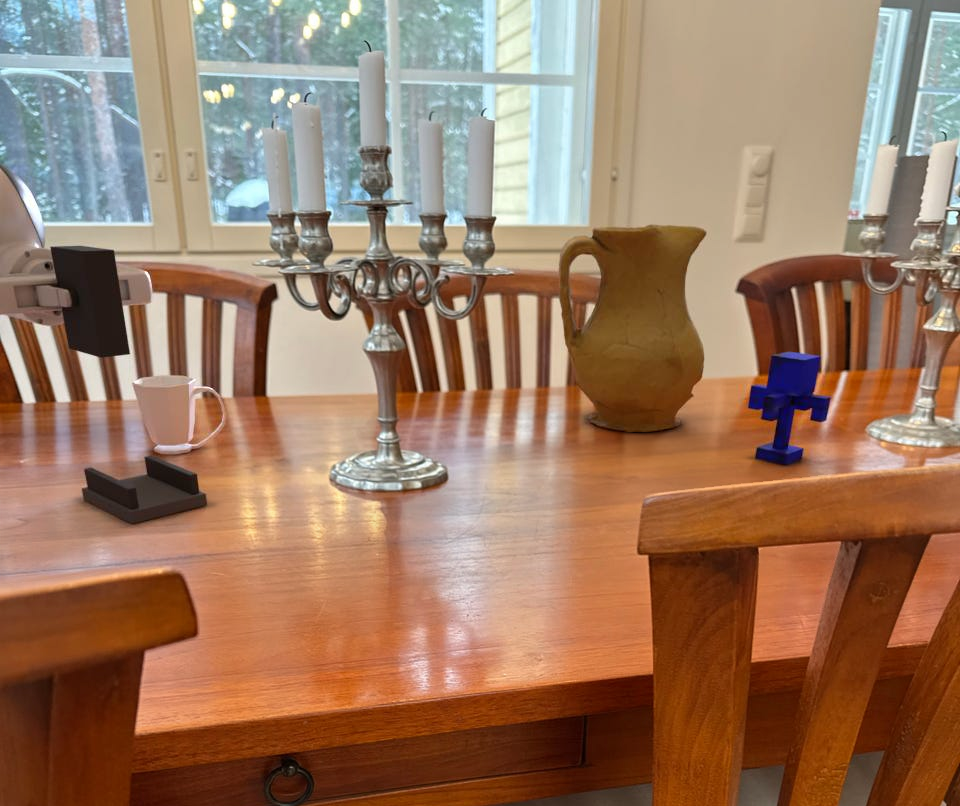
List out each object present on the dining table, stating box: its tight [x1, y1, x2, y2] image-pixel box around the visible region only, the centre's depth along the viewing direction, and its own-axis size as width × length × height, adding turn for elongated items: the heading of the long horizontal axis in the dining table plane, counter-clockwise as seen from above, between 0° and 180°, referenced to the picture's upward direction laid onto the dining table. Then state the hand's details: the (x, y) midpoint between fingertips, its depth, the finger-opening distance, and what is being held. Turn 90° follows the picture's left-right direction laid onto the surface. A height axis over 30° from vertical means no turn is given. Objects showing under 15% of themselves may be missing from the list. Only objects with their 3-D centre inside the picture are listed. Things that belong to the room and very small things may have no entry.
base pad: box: [81, 455, 208, 525], centre depth 89 cm, size 8×10×3 cm
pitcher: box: [558, 223, 707, 433], centre depth 118 cm, size 17×19×25 cm
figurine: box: [747, 351, 832, 466], centre depth 105 cm, size 8×8×12 cm
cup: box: [131, 374, 227, 455], centre depth 105 cm, size 7×10×8 cm
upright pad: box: [49, 245, 131, 359], centre depth 101 cm, size 4×8×11 cm, turn 47°
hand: (93, 297), depth 100 cm, fingers closed on upright pad, 3 cm apart
